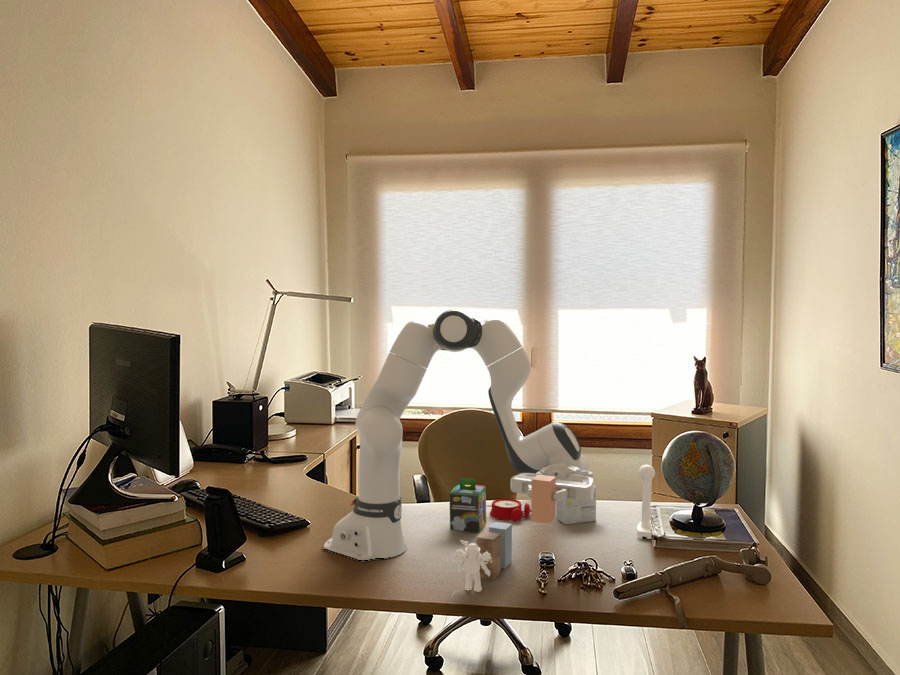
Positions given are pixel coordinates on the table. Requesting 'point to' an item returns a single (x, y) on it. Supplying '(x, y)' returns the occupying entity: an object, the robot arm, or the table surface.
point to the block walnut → (493, 546)
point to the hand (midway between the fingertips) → (542, 495)
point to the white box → (576, 510)
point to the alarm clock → (509, 510)
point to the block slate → (503, 541)
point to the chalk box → (467, 507)
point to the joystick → (645, 502)
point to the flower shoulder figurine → (472, 564)
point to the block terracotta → (543, 499)
